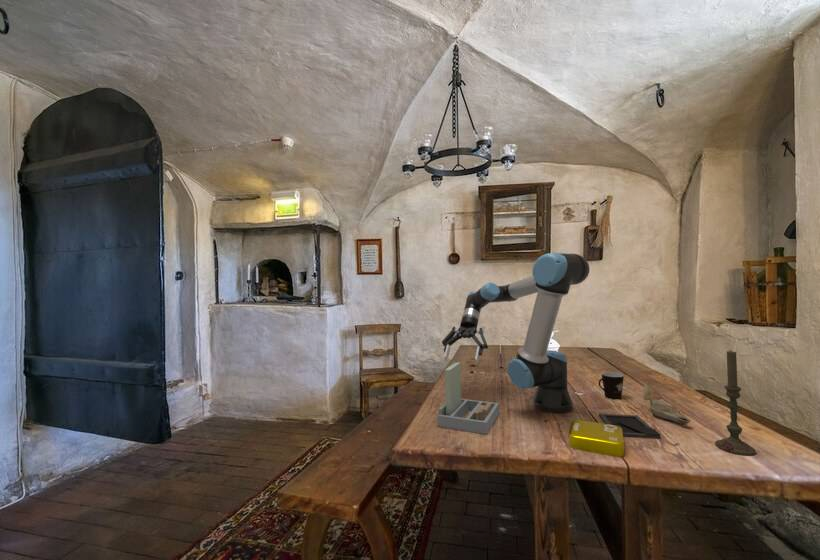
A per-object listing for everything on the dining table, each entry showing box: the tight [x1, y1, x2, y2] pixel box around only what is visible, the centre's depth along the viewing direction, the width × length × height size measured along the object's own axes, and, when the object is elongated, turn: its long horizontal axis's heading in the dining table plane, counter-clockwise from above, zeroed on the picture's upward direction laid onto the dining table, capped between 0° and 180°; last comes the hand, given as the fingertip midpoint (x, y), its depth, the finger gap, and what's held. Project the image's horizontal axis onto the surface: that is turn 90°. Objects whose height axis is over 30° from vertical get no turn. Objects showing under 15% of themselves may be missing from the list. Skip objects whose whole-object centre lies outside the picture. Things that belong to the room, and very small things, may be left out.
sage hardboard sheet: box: [444, 362, 463, 416], centre depth 137 cm, size 2×13×20 cm, turn 154°
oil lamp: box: [642, 382, 691, 426], centre depth 131 cm, size 9×21×10 cm, turn 179°
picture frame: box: [598, 413, 662, 440], centre depth 124 cm, size 13×2×18 cm
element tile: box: [568, 419, 625, 458], centre depth 113 cm, size 15×15×5 cm
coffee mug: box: [598, 371, 625, 400], centre depth 156 cm, size 12×9×10 cm
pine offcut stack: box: [474, 403, 491, 421], centre depth 133 cm, size 4×9×6 cm, turn 154°
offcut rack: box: [437, 398, 500, 435], centre depth 134 cm, size 18×21×6 cm
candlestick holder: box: [714, 349, 757, 457], centre depth 107 cm, size 9×9×30 cm
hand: (460, 360), depth 148 cm, fingers open, 13 cm apart
